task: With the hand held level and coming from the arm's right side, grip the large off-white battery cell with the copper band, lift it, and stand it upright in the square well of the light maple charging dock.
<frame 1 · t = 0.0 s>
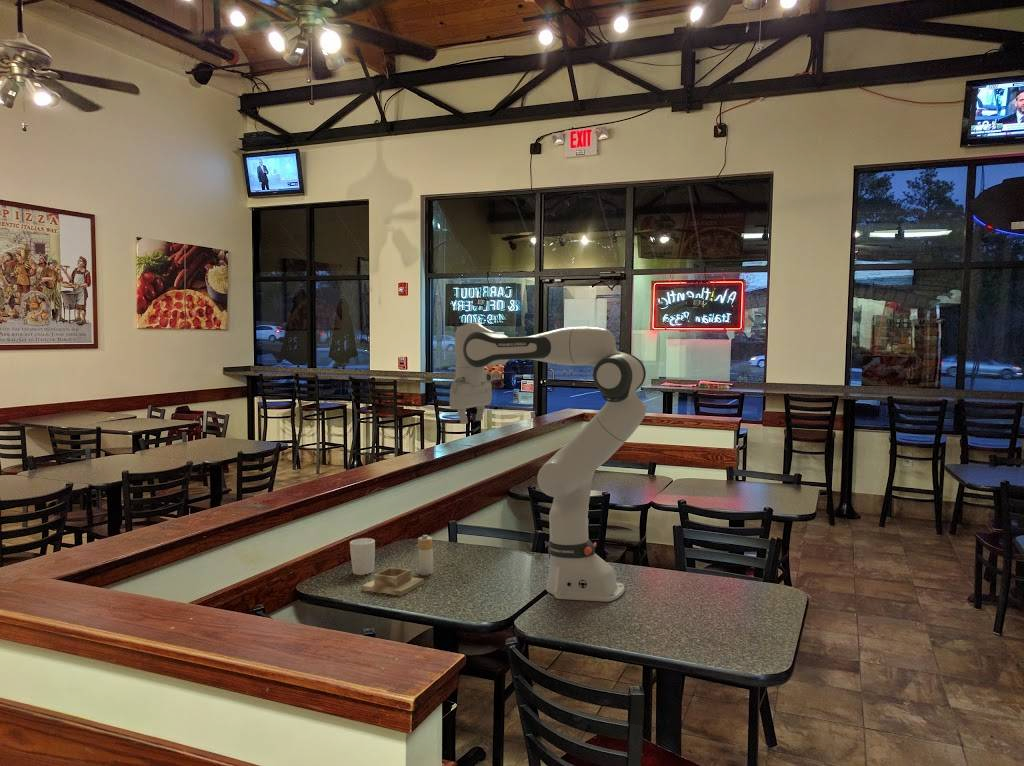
hand: (471, 422, 217), 48 cm above the table, tool pointing down, fingers open, 8 cm apart
battery cell: (426, 573, 225), on the table
white cup: (363, 572, 228), on the table
charging dock: (393, 587, 212), on the table
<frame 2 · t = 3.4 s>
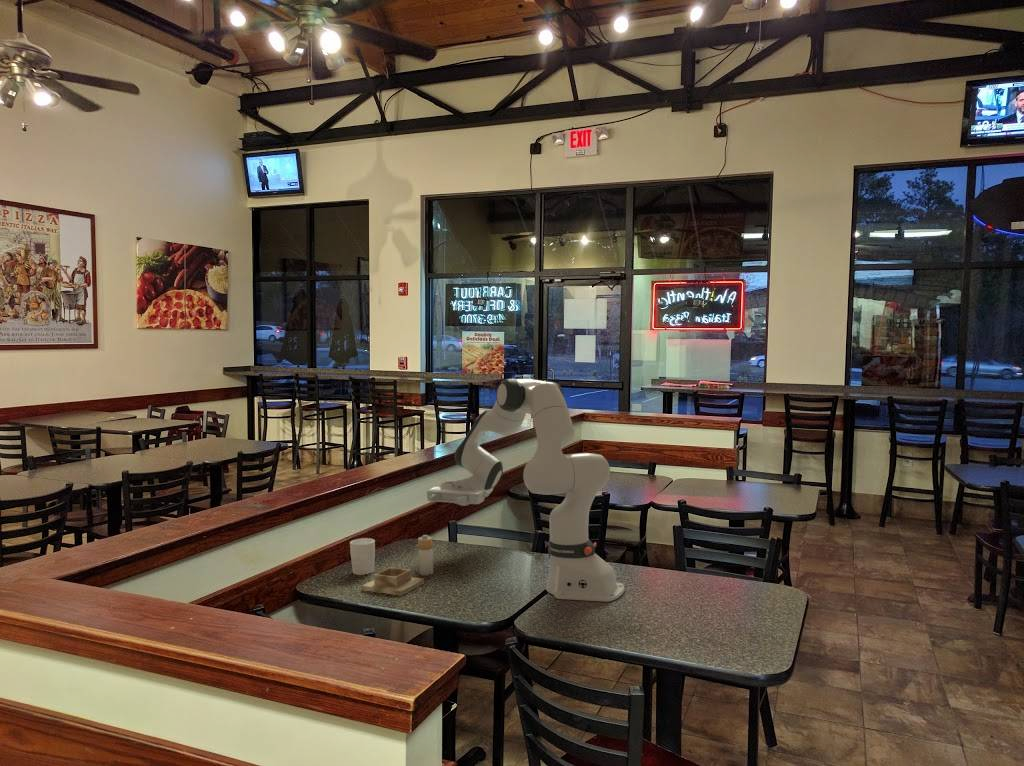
hand: (443, 500, 235), 21 cm above the table, tool horizontal, fingers open, 8 cm apart
nothing on the table moved.
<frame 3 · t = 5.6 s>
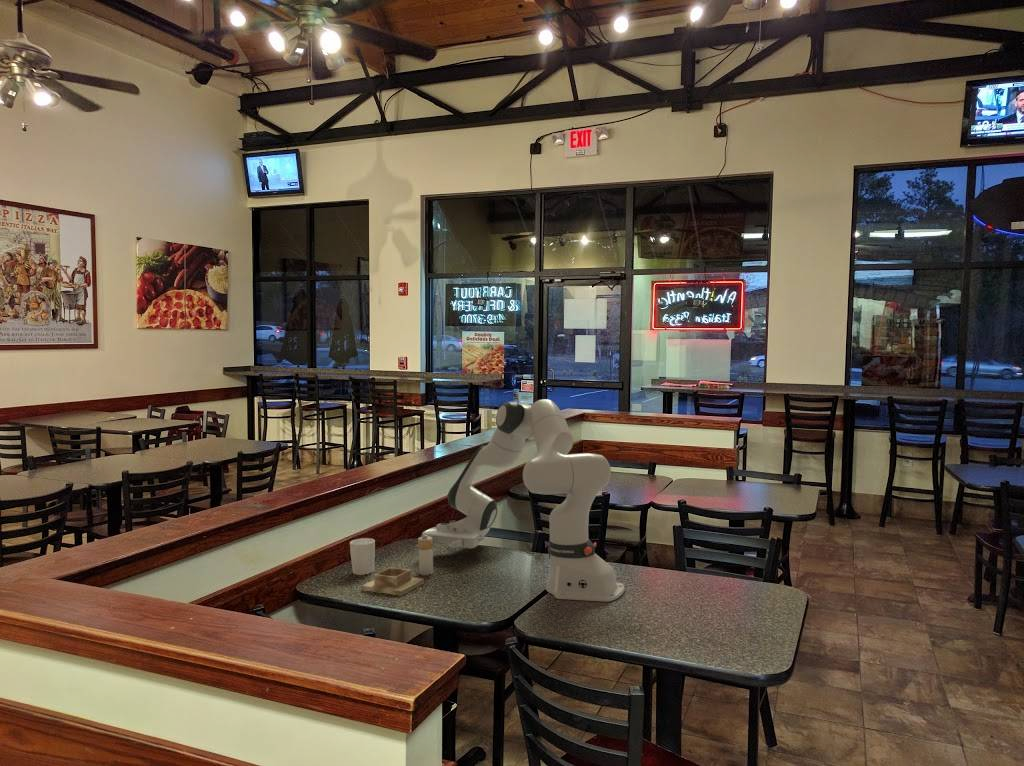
hand: (438, 544, 232), 7 cm above the table, tool horizontal, fingers open, 8 cm apart
nothing on the table moved.
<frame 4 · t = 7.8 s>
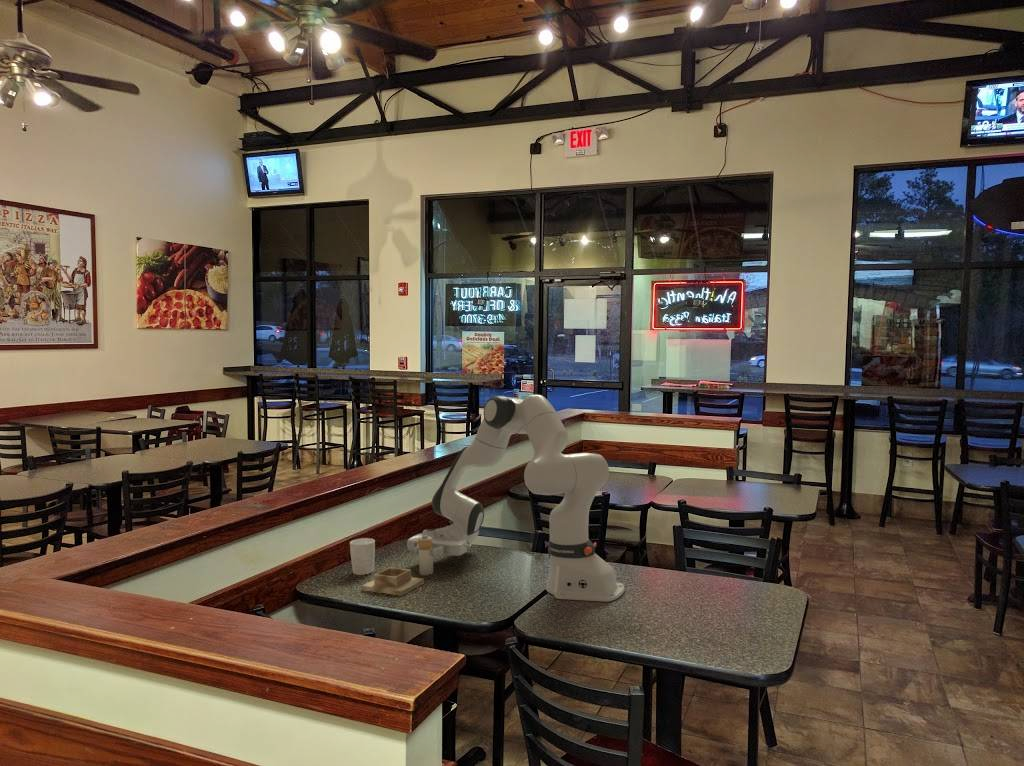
hand: (424, 551, 224), 7 cm above the table, tool horizontal, fingers closed on battery cell, 4 cm apart
battery cell: (426, 573, 225), on the table, touching gripper
everything else where it was.
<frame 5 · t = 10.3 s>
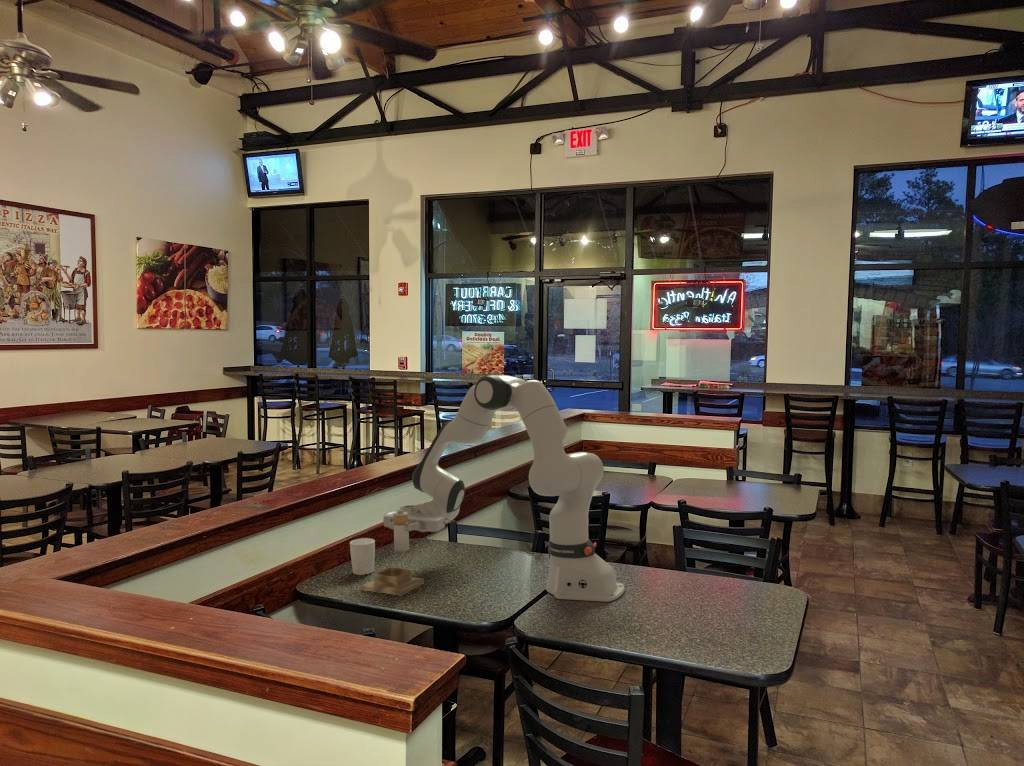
hand: (399, 527, 216), 17 cm above the table, tool horizontal, fingers closed on battery cell, 4 cm apart
battery cell: (401, 549, 217), point 10 cm above the table, touching gripper
everything else where it was.
when the fingers open (10 cm above the table, at t = 12.8 s): battery cell drops 1 cm, resting on charging dock.
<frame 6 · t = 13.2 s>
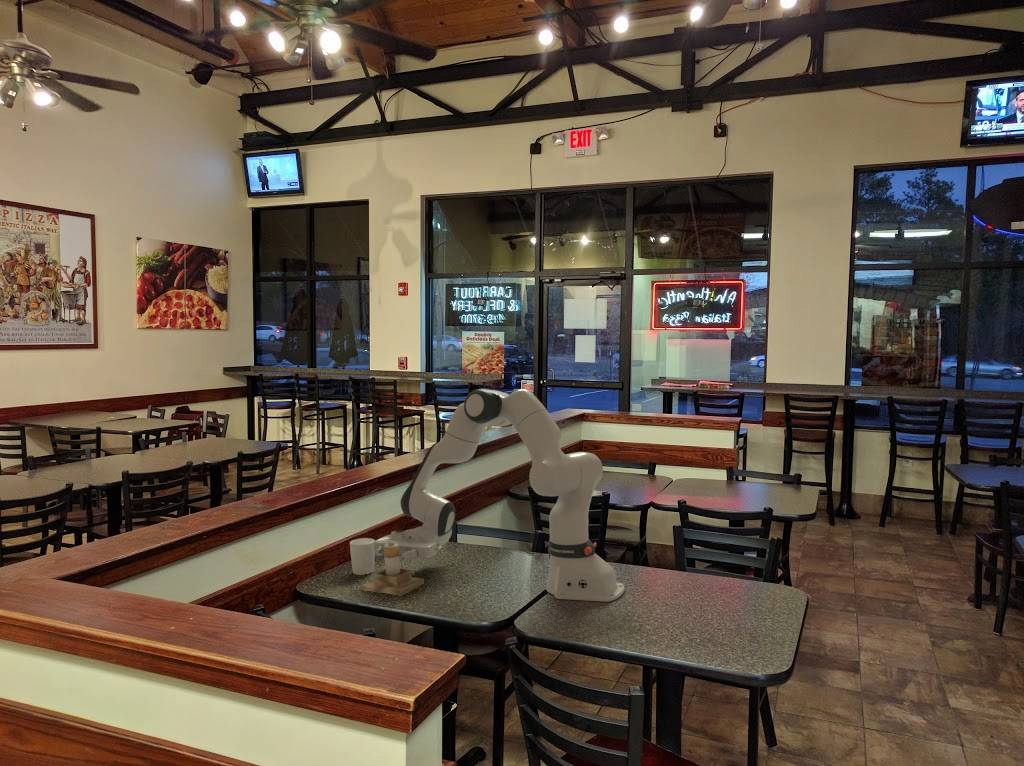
hand: (390, 554, 211), 10 cm above the table, tool horizontal, fingers open, 8 cm apart
battery cell: (393, 582, 212), point 2 cm above the table, touching charging dock
everything else where it was.
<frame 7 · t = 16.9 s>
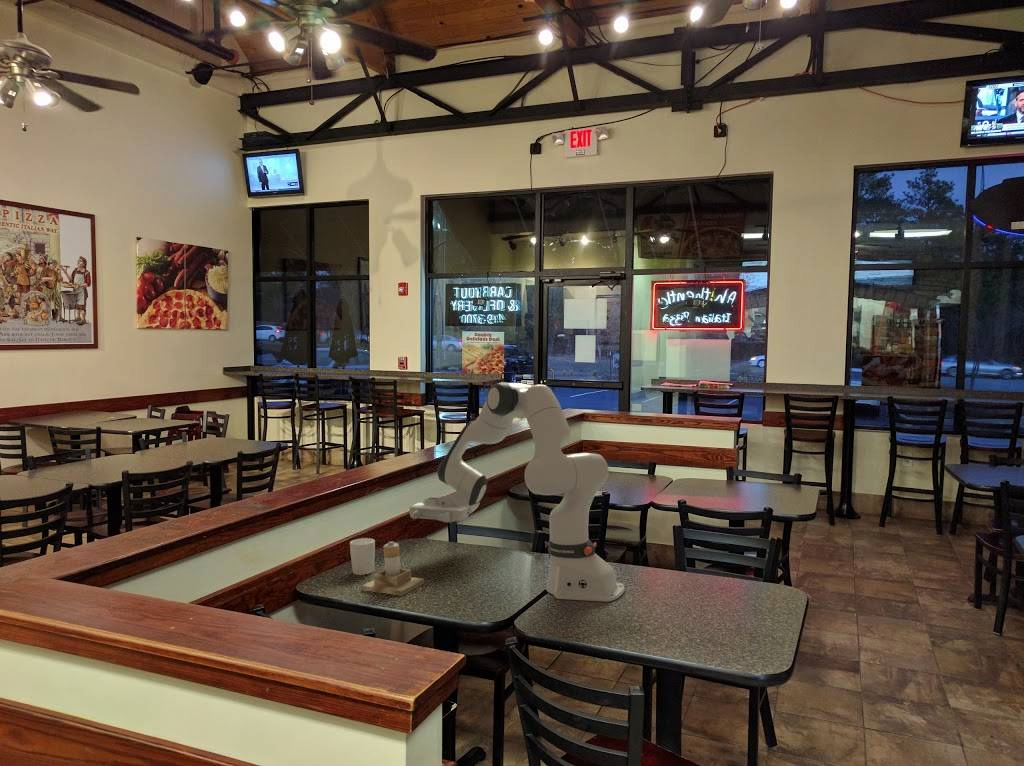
hand: (426, 517, 229), 17 cm above the table, tool horizontal, fingers open, 8 cm apart
nothing on the table moved.
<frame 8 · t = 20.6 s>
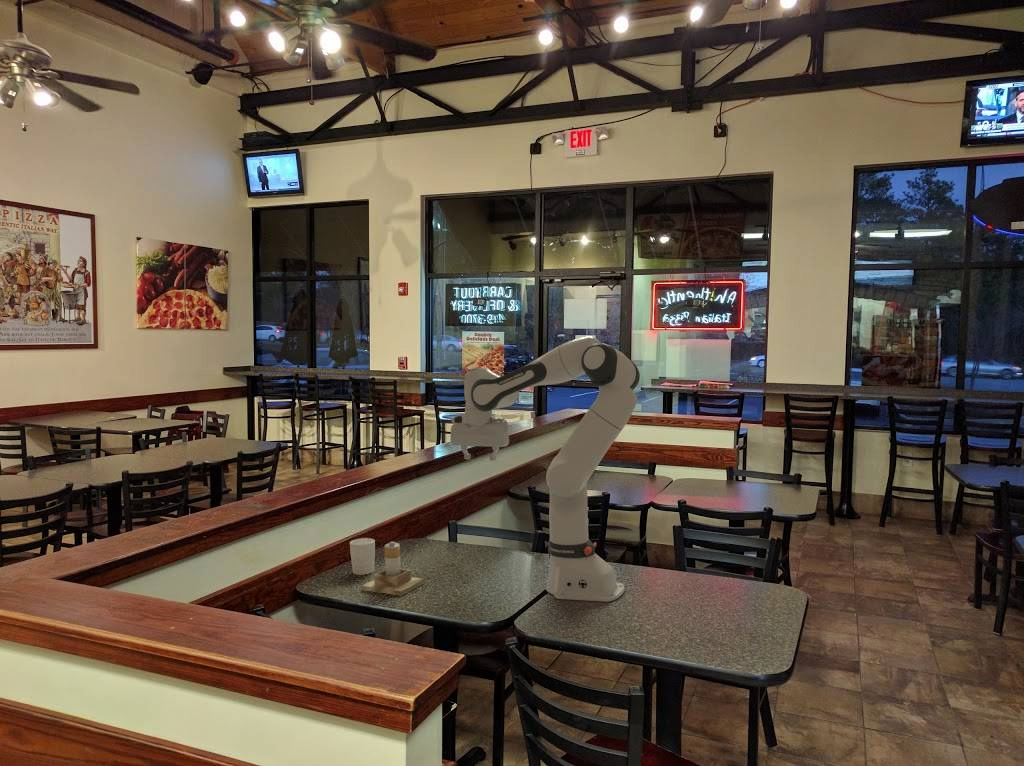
hand: (480, 459, 233), 34 cm above the table, tool pointing down, fingers open, 8 cm apart
nothing on the table moved.
at the end: battery cell 0.2 cm off-centre on the charging dock, point 1.6 cm above the charging dock's base; battery cell tilted 3°; the gripper is holding nothing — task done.
